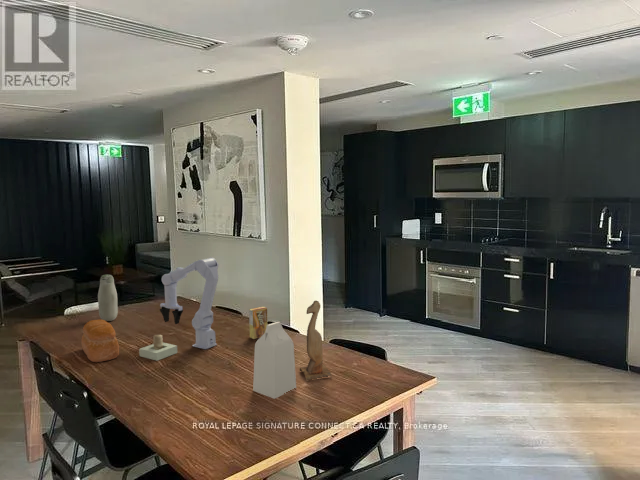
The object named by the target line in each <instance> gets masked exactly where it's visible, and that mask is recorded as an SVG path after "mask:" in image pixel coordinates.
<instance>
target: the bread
mask: <svg viewBox="0 0 640 480" xmlns="http://www.w3.org/2000/svg"><path fill="white" fill-rule="evenodd" d="M82 332H83V333H82V336H81V339H80V341H81V348H82V351H83V352H84V354H85V355H86V357H87V359H88V360H89V361H91V362H93V363H98V362H99V363H102V362H105V361H110V360H114V359H117V358H118V356H119V355H120V345H119V341H118V339H117V337H116V335H117V334H116V330H115V328H114V327H113V325H112V324H111V323H110V322H109V321H105V320H102V319H101V318H100V319H92V320H89V321H87V322H85V324H84V325H83V328H82Z"/></svg>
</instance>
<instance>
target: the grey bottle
mask: <svg viewBox="0 0 640 480" xmlns="http://www.w3.org/2000/svg"><path fill="white" fill-rule="evenodd" d="M97 304H98V315H99V318H100V319H101V320H105V321H106V322H112V321H114V320H115V319H116V318H117V317H118V314H119V313H118V311H119V310H118V309H119V308H118V293H117V289H116V285H115V279H114V277H113V275H112V274H103V275H101V276H100V278H99V288H98V293H97Z"/></svg>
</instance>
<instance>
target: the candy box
mask: <svg viewBox="0 0 640 480" xmlns="http://www.w3.org/2000/svg"><path fill="white" fill-rule="evenodd" d="M248 311H249V312H248V316H249V338H250V339H253V340H255V339H259V338H260V337H261V336H262V335H263V334H264V333H265V331H266V327H267V325H268V307H266V306H259V307H254V308H250V309H249V310H248Z"/></svg>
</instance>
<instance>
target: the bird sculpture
mask: <svg viewBox="0 0 640 480" xmlns="http://www.w3.org/2000/svg"><path fill="white" fill-rule="evenodd" d="M320 309H321V303H320V302H319V301H318V300H314V301H313V303H312V304H310V305H309V306H308V307H307V309H306V315H309V314H311V317H310V320H309V322H308V326H307V329H306V352H307V355H308V358H309V361H308V364H307V366H303V367H299V372H300V371H301V372H302V373H303V374H304V376H305V381H306V380H311V381H312V379H317V378H322V377H328V376H331V377H332V372H331V371H330V370H329V368H328V367H327V366H326V364H323V363H324V362H323V337H322V335H321V333H320V332H319V331H318V330H317V329H316V325H317V324H316V323H317V319H318V314H319V312H320Z"/></svg>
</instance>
